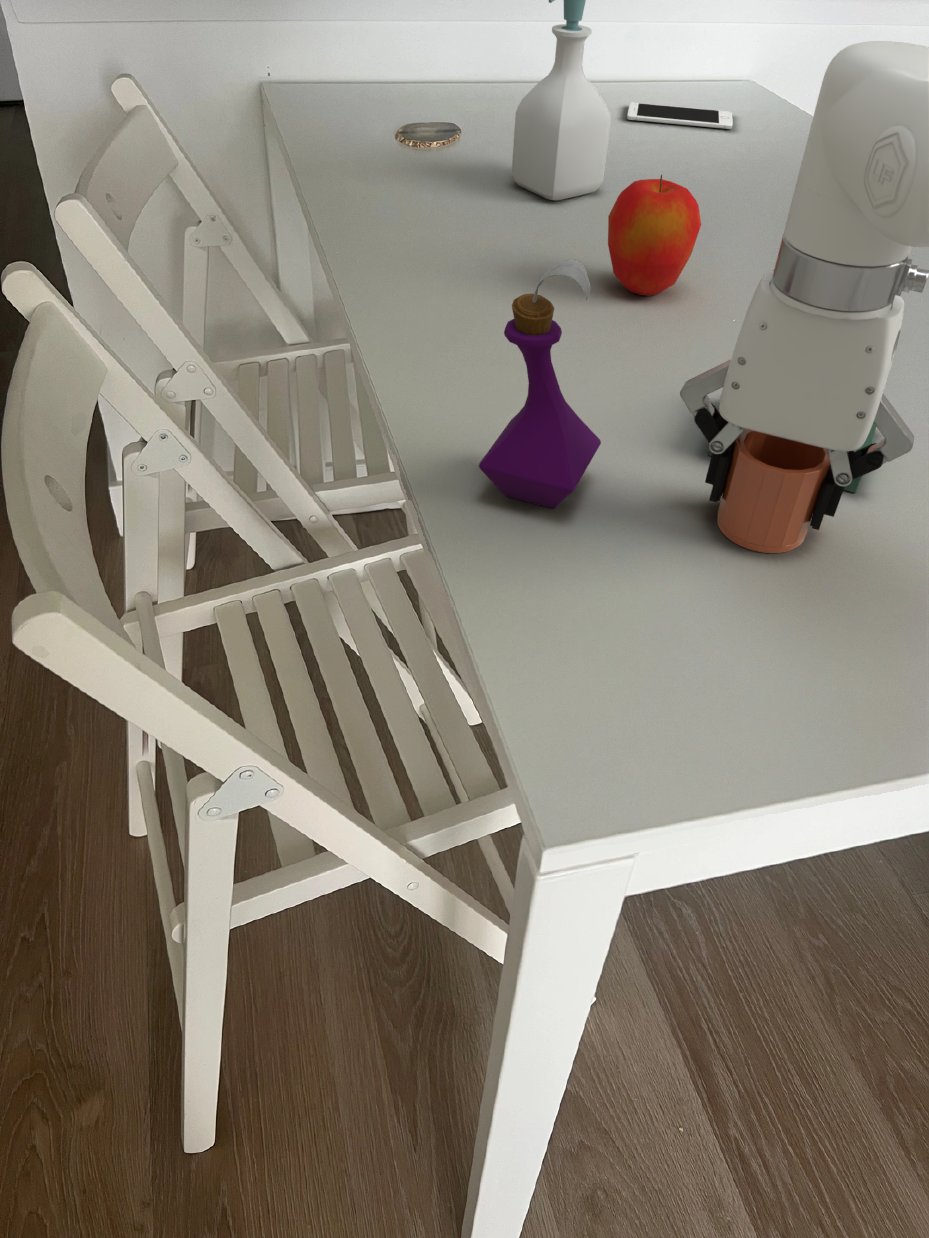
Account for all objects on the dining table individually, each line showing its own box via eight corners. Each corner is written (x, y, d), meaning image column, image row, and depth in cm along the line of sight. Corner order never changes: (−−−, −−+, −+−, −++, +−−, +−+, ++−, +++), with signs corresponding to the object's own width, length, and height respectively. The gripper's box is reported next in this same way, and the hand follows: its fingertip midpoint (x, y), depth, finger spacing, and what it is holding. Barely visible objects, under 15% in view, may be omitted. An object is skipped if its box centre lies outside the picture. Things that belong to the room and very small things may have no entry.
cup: (811, 515, 76) (838, 436, 72) (797, 563, 72) (824, 483, 67) (727, 492, 78) (747, 415, 73) (707, 538, 74) (728, 458, 69)
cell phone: (732, 130, 150) (733, 125, 150) (626, 120, 152) (627, 115, 152) (731, 115, 156) (731, 111, 156) (629, 106, 158) (629, 102, 157)
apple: (590, 299, 104) (605, 181, 96) (611, 268, 110) (627, 154, 102) (677, 316, 102) (701, 196, 94) (693, 283, 108) (716, 168, 100)
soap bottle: (504, 184, 129) (517, -21, 114) (560, 172, 133) (579, -27, 118) (551, 207, 123) (572, -5, 108) (608, 194, 128) (635, -12, 113)
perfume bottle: (475, 502, 76) (488, 273, 64) (509, 454, 81) (526, 234, 69) (568, 526, 74) (599, 296, 62) (596, 475, 79) (630, 253, 67)
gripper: (986, 279, 62) (892, 510, 74) (713, 226, 67) (667, 452, 79) (981, 326, 57) (880, 567, 69) (686, 266, 61) (640, 501, 73)
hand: (767, 504), depth 74 cm, fingers open, 6 cm apart
